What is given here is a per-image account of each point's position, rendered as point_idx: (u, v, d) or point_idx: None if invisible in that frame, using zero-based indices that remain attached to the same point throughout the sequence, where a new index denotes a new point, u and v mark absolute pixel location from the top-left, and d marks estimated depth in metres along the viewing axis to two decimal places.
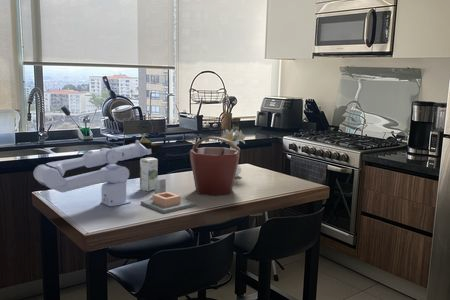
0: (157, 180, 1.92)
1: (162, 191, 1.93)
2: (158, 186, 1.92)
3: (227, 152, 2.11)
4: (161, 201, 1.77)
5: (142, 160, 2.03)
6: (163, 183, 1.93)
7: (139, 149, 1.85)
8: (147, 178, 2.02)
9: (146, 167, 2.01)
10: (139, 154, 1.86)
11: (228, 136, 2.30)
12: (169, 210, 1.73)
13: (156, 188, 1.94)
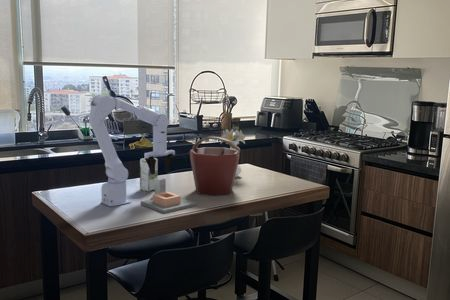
0: (157, 180, 1.92)
1: (162, 191, 1.93)
2: (158, 186, 1.92)
3: (227, 152, 2.11)
4: (161, 201, 1.77)
5: (142, 160, 2.03)
6: (163, 183, 1.93)
7: (155, 150, 1.89)
8: (147, 178, 2.02)
9: (146, 167, 2.01)
10: (153, 150, 1.91)
11: (228, 136, 2.30)
12: (169, 210, 1.73)
13: (156, 188, 1.94)
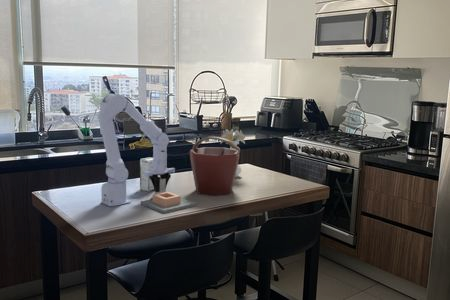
0: None
1: (162, 191, 1.93)
2: None
3: (227, 152, 2.11)
4: (161, 201, 1.77)
5: (142, 160, 2.03)
6: (163, 183, 1.93)
7: (155, 169, 1.91)
8: (147, 178, 2.02)
9: (146, 167, 2.01)
10: (153, 168, 1.92)
11: (228, 136, 2.30)
12: (169, 210, 1.73)
13: None
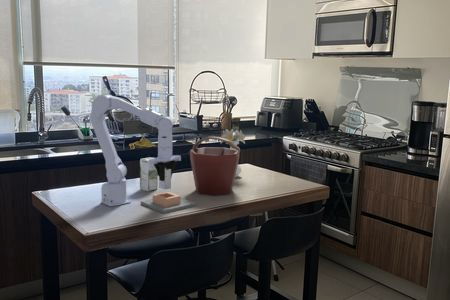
0: None
1: (167, 182, 1.81)
2: None
3: (227, 152, 2.11)
4: (161, 201, 1.77)
5: (142, 160, 2.03)
6: (168, 174, 1.81)
7: (160, 156, 1.79)
8: (147, 178, 2.02)
9: (146, 167, 2.01)
10: (158, 155, 1.80)
11: (228, 136, 2.30)
12: (169, 210, 1.73)
13: None
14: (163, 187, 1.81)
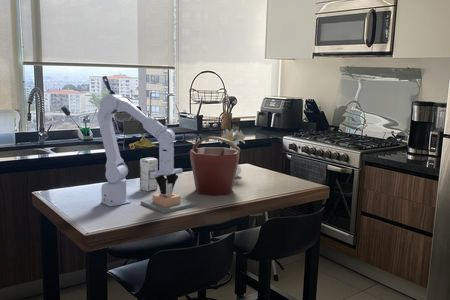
0: None
1: None
2: None
3: (227, 152, 2.11)
4: (161, 201, 1.77)
5: (142, 160, 2.03)
6: (170, 188, 1.79)
7: (161, 169, 1.77)
8: (147, 178, 2.02)
9: (146, 167, 2.01)
10: (159, 168, 1.79)
11: (228, 136, 2.30)
12: (169, 210, 1.73)
13: None
14: None
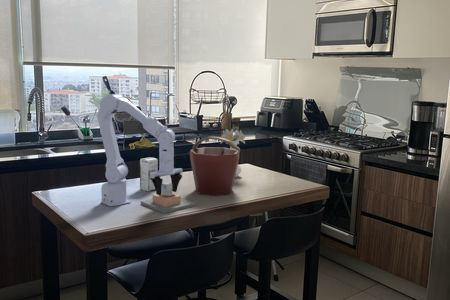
0: (163, 185, 1.79)
1: None
2: (164, 191, 1.79)
3: (227, 152, 2.11)
4: (161, 201, 1.77)
5: (142, 160, 2.03)
6: (170, 188, 1.79)
7: (161, 169, 1.77)
8: (147, 178, 2.02)
9: (146, 167, 2.01)
10: (159, 168, 1.79)
11: (228, 136, 2.30)
12: (169, 210, 1.73)
13: (162, 193, 1.80)
14: None
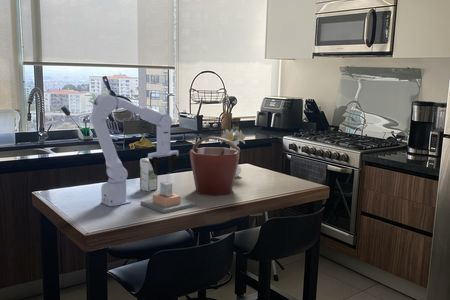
0: (163, 185, 1.79)
1: None
2: (164, 191, 1.79)
3: (227, 152, 2.11)
4: (161, 201, 1.77)
5: (142, 160, 2.03)
6: (170, 188, 1.79)
7: (159, 151, 1.88)
8: (147, 178, 2.02)
9: (146, 167, 2.01)
10: None
11: (228, 136, 2.30)
12: (169, 210, 1.73)
13: (162, 193, 1.80)
14: None
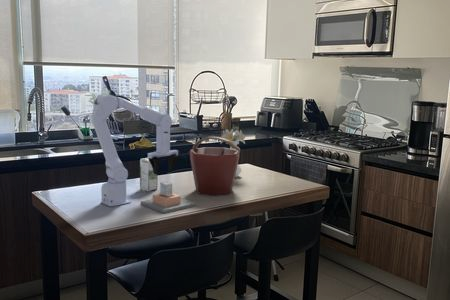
0: (163, 185, 1.79)
1: None
2: (164, 191, 1.79)
3: (227, 152, 2.11)
4: (161, 201, 1.77)
5: (142, 160, 2.03)
6: (170, 188, 1.79)
7: (158, 150, 1.89)
8: (147, 178, 2.02)
9: (146, 167, 2.01)
10: None
11: (228, 136, 2.30)
12: (169, 210, 1.73)
13: (162, 193, 1.80)
14: None
